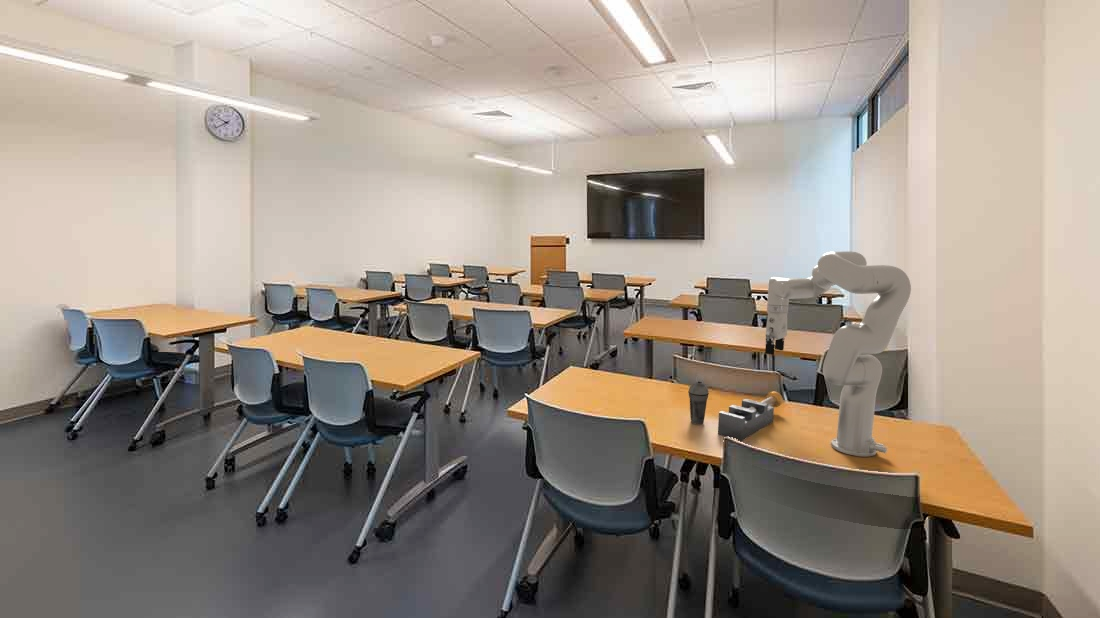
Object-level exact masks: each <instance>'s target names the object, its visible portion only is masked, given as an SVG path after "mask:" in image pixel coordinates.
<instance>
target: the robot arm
mask: <svg viewBox="0 0 1100 618" xmlns="http://www.w3.org/2000/svg"><path fill="white" fill-rule="evenodd" d="M867 263H868V262H867V260H866V258H865V256H864V255H863V254H861V253H860V252H856V251H851V250H849V251H848V250H847V251H844V250H843V251H829V252H826V253H824V254H822V255H821V256H820V257H819V259H818V261H817V265H815V266H814V267H813V268H812V271H811V276H810V277H804V278H802V277H801V278H800V277H798V278H797V277H796V278H788V277H784V276H783V277H782V276H773V277H770V278H769V280H768V288H767V301H766V302H767V303H766V313H767V318H766V326H765V328H766V329H765V350H764V353H765V354H767V355H772V356H773V355H775V350H776V351H777V350H778V351H784V347H785V340H786V339H785V337H787V335H788V314H789V305H790V300H791V299H792V300H794V299H810V298H814V297H817V296H820V295H822V294H825V293H827V292H828V291H829V290H830V289H831V287H833V286H837V287H839V288H841V289H843V290H845V291H847V292H849V293H852V294H855V295H856V294H857V295H866V294H867V295H868V294H869V295H871V294H878V295H877V297H875V298H874V299H873V300H872V302H871V303H870V304H869V305H868V306H867V308H866V311H865V313H864V316H863V317H862V318H863V319H862V320H861V322H859V323H855V324H853V323H852V324H845V325H843V326H841V327H840V328H839V329H837V330H836V331H835V333H834V335H833V336H832V339H831V342H830V344H829V347H828V350H827V353H826V356H825V358H824V361H823V365H822V374H823V376H824V379H825V381H827V382H828V384H831V385H833V386H839V387H840V386H843V387H842V389H841V392H840V398H839V399H840V400H839V410H838V421H837V429H836V430H837V431H836V432H837V433H836V438H833V439H831V441H830V446H831V447H832V448H833V450H836V451H838V452H840V453H842V454H846V455H850V456H855V457H867V458H868V457H874V456H875V455H876V454H877V452H879V453H883V454H887V451H888V447H886V446H885V444H883V443H877V441H875V437H874V436H873V429H874V419H875V407H876V399H877V393H878V388H879V386H880V382H881V379H882V374H883V366H882V363H881V362H880V360H879V359H878V358H877V357H875V356H874V355H877V354H880V353H883V352H884V351H885V350H886V349H887V348H888V346H889V343H890V341H891V338H892V336H893V334H894V331H895V329H896V327H897V325H898V321H899V319H900V317H901V315H902V313H903V311H904V309H905V307H906V306H907V304H908V302H909V298H910V296H911V291H912V286H911V284H912V283H911V280H910V278H909V276H908V275H907V273H906V272H905V271H904V270H903V269H901V268H899V267H897V266H894V265H888V264H885V265H884V264H879V265H878V264H876V265H867Z"/></svg>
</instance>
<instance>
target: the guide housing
mask: <svg viewBox="0 0 1100 618" xmlns="http://www.w3.org/2000/svg"><path fill="white" fill-rule="evenodd" d="M752 406H754V407H758V411H756V410H752V409H748V408H750V407H752ZM774 409H775V407H771V406H768V404H766V403H762V402H761V401H757V400H753V399H749V398H743V399H742V400H741V406H740V405H736V404H732V405H729V407H728V412H727V411H723V410H721V411H719V412H718V423H717V424H718V425H717V435H719V436H722V437H725V436H729V437H733V438H736V439H738V440H740V441H739V442H742V441H744V440H747V438H749V437H751V436H752V435H755V433H757V432H759V431H761V430H763V429H764V428H766V427H767V426H769V425H770V424H772V423H774V413H775V412H774V411H775V410H774ZM742 413H743V414H745V417H743V416H742ZM738 440H737V441H738Z"/></svg>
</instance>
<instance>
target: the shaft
mask: <svg viewBox="0 0 1100 618" xmlns="http://www.w3.org/2000/svg"><path fill="white" fill-rule="evenodd" d="M760 402H762V403H766V404H768V406H771V407H774V408H779V407H780V406H781V405H782V404H783V402H784V399H783V396H782V395H781V394H780V393H779V392H778V391H770V392H768V393H767V394H766V395H765V399H763V400H761V401H760ZM748 409H752V410H756V411H758V407H754V406H752V407H750V408H748ZM742 416H743V417H745V414H743V413H742Z"/></svg>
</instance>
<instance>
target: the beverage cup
mask: <svg viewBox="0 0 1100 618" xmlns="http://www.w3.org/2000/svg"><path fill="white" fill-rule="evenodd" d="M695 380H696V381H695V382H693V383H691V385H690V386H689V388H688V398H689V411H690V413H689V414H690V415H689V416H690V423H691V424H693V425H698V426H700V425H704V421H705V416H706V410H707V401H708V398H709V395H710V393H709V388H708V387H707V385H706V384H705V383H704V382H702V381H699V380H698V370H695Z"/></svg>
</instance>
